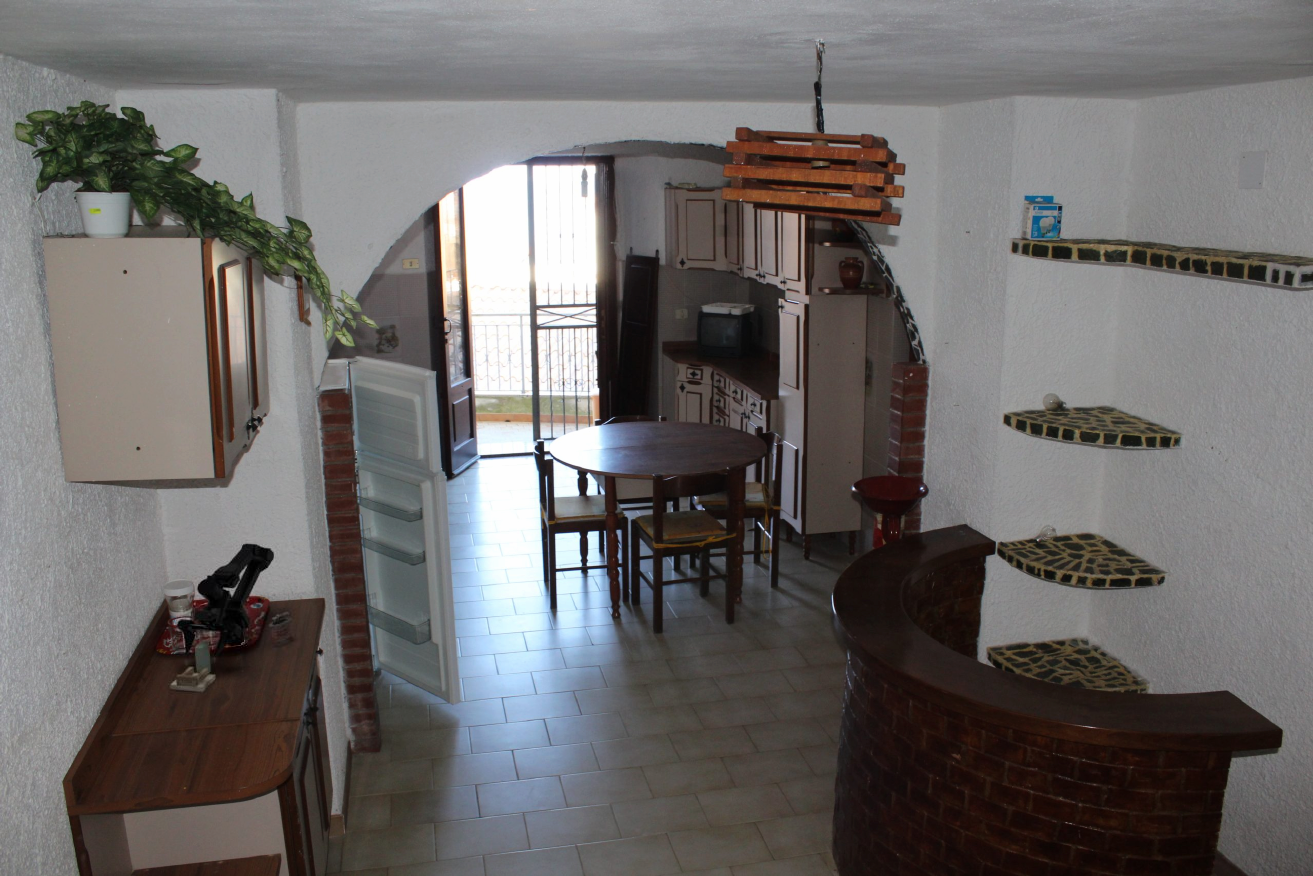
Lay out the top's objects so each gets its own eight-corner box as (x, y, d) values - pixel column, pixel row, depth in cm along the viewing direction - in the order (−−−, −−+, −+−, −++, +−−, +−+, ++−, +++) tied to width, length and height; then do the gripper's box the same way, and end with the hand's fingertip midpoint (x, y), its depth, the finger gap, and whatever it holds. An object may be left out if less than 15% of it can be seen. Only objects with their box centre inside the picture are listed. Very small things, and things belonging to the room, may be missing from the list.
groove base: (184, 676, 314) (183, 663, 313) (215, 679, 313) (214, 665, 312) (170, 689, 306) (169, 675, 305) (202, 691, 306) (201, 678, 305)
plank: (203, 670, 318) (201, 641, 316) (210, 671, 318) (208, 642, 315) (196, 676, 314) (194, 647, 312) (204, 677, 314) (202, 648, 312)
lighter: (274, 648, 335) (272, 620, 332) (267, 645, 337) (266, 617, 334) (294, 639, 341) (293, 612, 339) (288, 636, 343) (286, 609, 341)
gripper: (177, 595, 315) (160, 643, 307) (235, 600, 314) (220, 648, 306) (191, 608, 324) (176, 655, 317) (248, 612, 324) (233, 660, 316)
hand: (201, 654), depth 313 cm, fingers open, 9 cm apart
